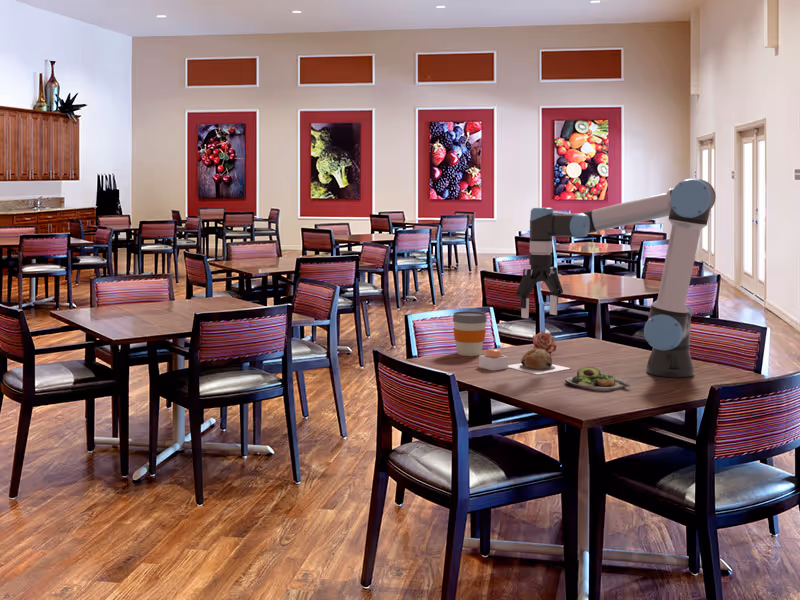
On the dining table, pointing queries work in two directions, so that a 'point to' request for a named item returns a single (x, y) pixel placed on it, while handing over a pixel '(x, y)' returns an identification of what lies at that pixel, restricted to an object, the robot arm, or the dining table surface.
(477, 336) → the reusable coffee cup
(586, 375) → the salad plate
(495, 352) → the button
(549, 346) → the flower
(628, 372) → the dining table surface
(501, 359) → the button housing
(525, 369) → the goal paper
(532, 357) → the bread roll
